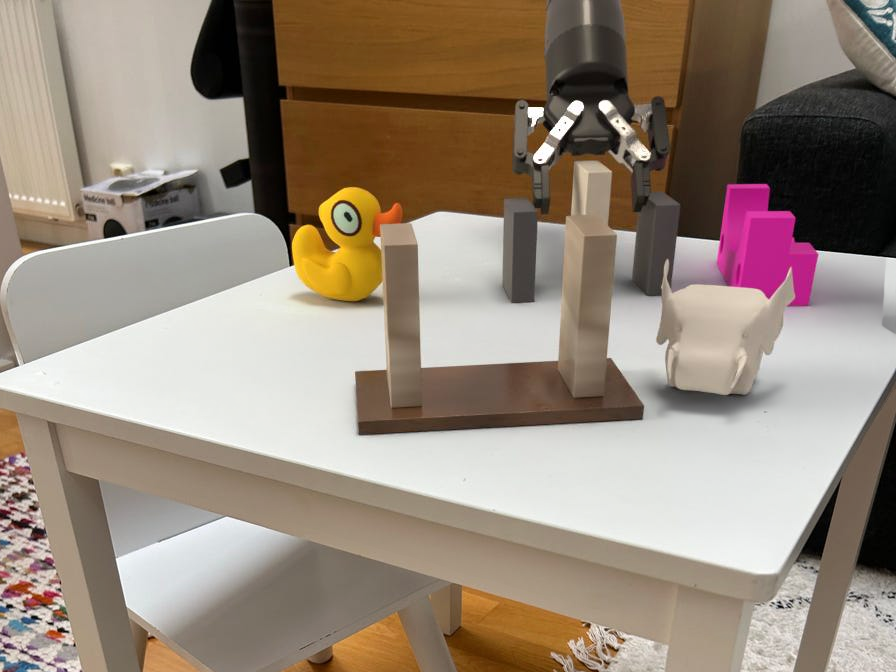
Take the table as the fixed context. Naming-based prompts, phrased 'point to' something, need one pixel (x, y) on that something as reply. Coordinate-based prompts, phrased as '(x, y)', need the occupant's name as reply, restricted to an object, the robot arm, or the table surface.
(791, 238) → the toy block
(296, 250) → the duckling
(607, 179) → the beige rectangular block
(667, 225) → the dark grey upright posts
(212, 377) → the table surface
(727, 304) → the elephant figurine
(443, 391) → the book rack
